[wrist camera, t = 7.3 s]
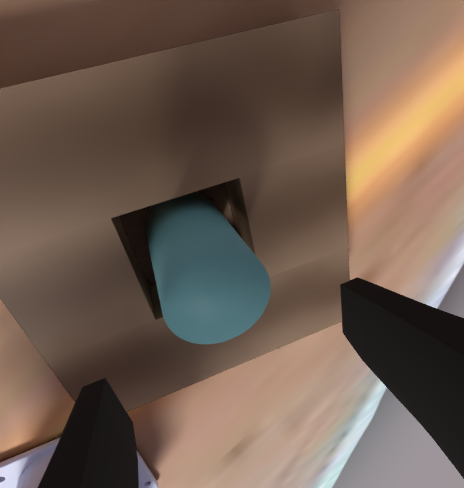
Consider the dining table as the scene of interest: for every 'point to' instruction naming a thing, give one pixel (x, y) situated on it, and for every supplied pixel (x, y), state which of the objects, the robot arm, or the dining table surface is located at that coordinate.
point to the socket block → (169, 187)
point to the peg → (204, 271)
